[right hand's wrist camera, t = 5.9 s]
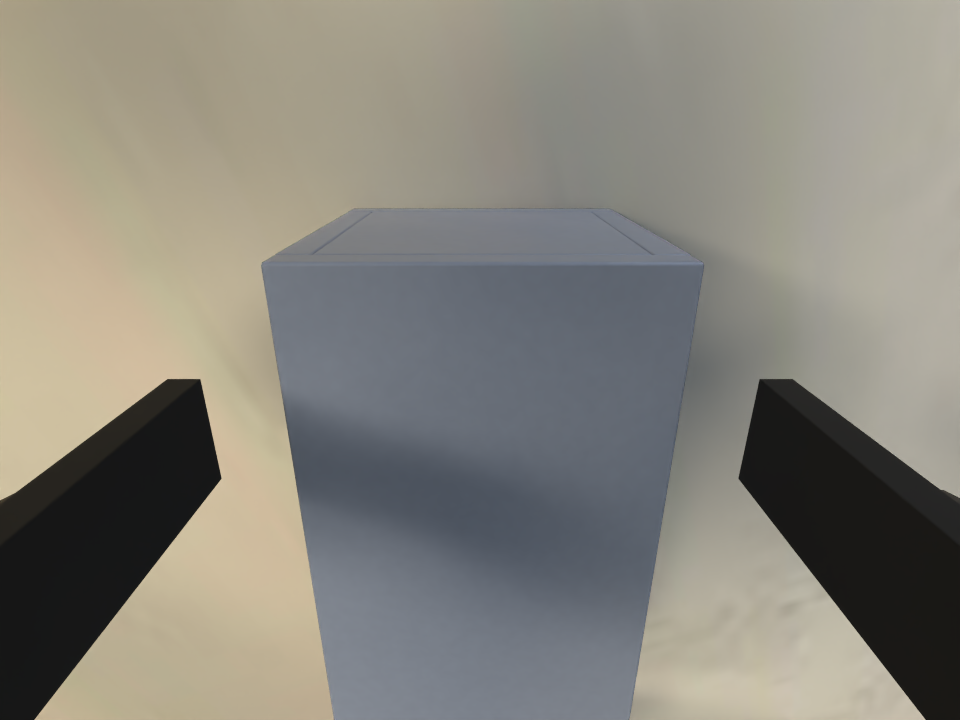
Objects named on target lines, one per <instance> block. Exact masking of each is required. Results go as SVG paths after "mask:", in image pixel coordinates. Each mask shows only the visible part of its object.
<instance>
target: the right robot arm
mask: <svg viewBox="0 0 960 720" xmlns="http://www.w3.org/2000/svg"><path fill="white" fill-rule="evenodd" d="M220 480H221V474H220V469H219V465H218V460H217V455H216V451H215V446H214V441H213V437H212V432H211V427H210V422H209V418H208V413H207V408H206V404H205V399H204V394H203V390H202V385H201V380H200V379H167V380H166V381H165V382H163V383H162V384H161V385H159V386H158V387H157V388H155V389H154V390H153V391H151V392H150V393H149V394H147V395H146V396H145V397H143V398H142V399H140V400H139V401H138V402H136V403H135V404H134V405H132V406H131V407H130V408H128V409H127V410H126V411H124V412H123V413H122V414H120V415H119V416H118V417H116V418H115V419H114V420H112V421H111V422H110V423H108V424H107V425H106V426H104V427H103V428H102V429H100V430H99V431H98V432H96V433H95V434H94V435H92V436H91V437H90V438H88V439H87V440H86V441H84V442H83V443H82V444H80V445H79V446H78V447H76V448H75V449H74V450H72V451H71V452H70V453H68V454H67V455H66V456H64V457H63V458H62V459H60V460H59V461H58V462H56V463H55V464H54V465H52V466H51V467H50V468H48V469H47V470H46V471H44V472H43V473H42V474H40V475H39V476H38V477H36V478H35V479H34V480H32V481H31V482H30V483H28V484H27V485H26V486H24V487H23V488H21V489H20V490H19V491H17V492H16V493H14V494H12V495H10V496H8V497H6V498H4V499H2V500H0V720H34V719H35V718H36V717H37V716H38V714H39V713H40V712H41V710H42V709H43V708H44V706H45V705H46V704H47V703H48V701H49V700H50V699H51V697H52V696H53V695H54V694H55V692H56V691H57V690H58V688H59V687H60V686H61V685H62V683H63V682H64V681H65V679H66V678H67V677H68V676H69V674H70V673H71V672H72V670H73V669H74V668H75V667H76V665H77V664H78V663H79V661H80V660H81V659H82V658H83V656H84V655H85V654H86V652H87V651H88V650H89V649H90V647H91V646H92V645H93V643H94V642H95V641H96V640H97V638H98V637H99V636H100V634H101V633H102V632H103V631H104V629H105V628H106V627H107V625H108V624H109V623H110V621H111V620H112V619H113V618H114V616H115V615H116V614H117V612H118V611H119V610H120V609H121V607H122V606H123V605H124V603H125V602H126V601H127V600H128V598H129V597H130V596H131V594H132V593H133V592H134V591H135V589H136V588H137V587H138V585H139V584H140V583H141V582H142V580H143V579H144V578H145V576H146V575H147V574H148V573H149V571H150V570H151V569H152V567H153V566H154V565H155V564H156V562H157V561H158V560H159V558H160V557H161V556H162V555H163V553H164V552H165V551H166V549H167V548H168V547H169V545H170V544H171V543H172V542H173V540H174V539H175V538H176V536H177V535H178V534H179V533H180V531H181V530H182V529H183V527H184V526H185V525H186V524H187V522H188V521H189V520H190V518H191V517H192V516H193V515H194V513H195V512H196V511H197V509H198V508H199V507H200V506H201V504H202V503H203V502H204V500H205V499H206V498H207V497H208V495H209V494H210V493H211V491H212V490H213V489H214V488H215V486H216V485H217V484H218V482H219V481H220ZM739 480H740V481H741V482H742V484H743V485H744V486H745V488H746V489H747V490H748V491H749V493H750V494H751V495H752V497H753V498H754V499H755V500H756V502H757V503H758V504H759V506H760V507H761V508H762V509H763V511H764V512H765V513H766V515H767V516H768V517H769V518H770V520H771V521H772V522H773V524H774V525H775V526H776V527H777V529H778V530H779V531H780V533H781V534H782V535H783V536H784V538H785V539H786V540H787V542H788V543H789V544H790V546H791V547H792V548H793V549H794V551H795V552H796V553H797V555H798V556H799V557H800V558H801V560H802V561H803V562H804V564H805V565H806V566H807V567H808V569H809V570H810V571H811V573H812V574H813V575H814V576H815V578H816V579H817V580H818V582H819V583H820V584H821V585H822V587H823V588H824V589H825V591H826V592H827V593H828V594H829V596H830V597H831V598H832V600H833V601H834V602H835V603H836V605H837V606H838V607H839V609H840V610H841V611H842V612H843V614H844V615H845V616H846V618H847V619H848V620H849V621H850V623H851V624H852V625H853V627H854V628H855V629H856V631H857V632H858V633H859V634H860V636H861V637H862V638H863V640H864V641H865V642H866V643H867V645H868V646H869V647H870V649H871V650H872V651H873V652H874V654H875V655H876V656H877V658H878V659H879V660H880V661H881V663H882V664H883V665H884V667H885V668H886V669H887V670H888V672H889V673H890V674H891V676H892V677H893V678H894V679H895V681H896V682H897V683H898V685H899V686H900V687H901V688H902V690H903V691H904V692H905V694H906V695H907V696H908V697H909V699H910V700H911V701H912V703H913V704H914V705H915V706H916V708H917V709H918V710H919V712H920V713H921V714H922V716H923V717H924V718H925V719H926V720H960V498H958V497H956V496H954V495H952V494H950V493H948V492H946V491H944V490H940V489H939V488H937V487H936V486H934V485H933V484H932V483H930V482H929V481H928V480H926V479H925V478H924V477H922V476H921V475H920V474H918V473H917V472H916V471H914V470H913V469H912V468H910V467H909V466H908V465H906V464H905V463H904V462H902V461H901V460H900V459H898V458H897V457H896V456H894V455H893V454H892V453H890V452H889V451H888V450H886V449H885V448H884V447H882V446H881V445H880V444H878V443H877V442H876V441H874V440H873V439H872V438H870V437H869V436H868V435H866V434H865V433H864V432H862V431H861V430H860V429H858V428H857V427H856V426H854V425H853V424H852V423H850V422H849V421H848V420H846V419H845V418H844V417H842V416H841V415H840V414H838V413H837V412H836V411H834V410H833V409H832V408H830V407H829V406H828V405H826V404H825V403H824V402H822V401H821V400H820V399H818V398H817V397H815V396H814V395H813V394H811V393H810V392H809V391H807V390H806V389H805V388H803V387H802V386H801V385H799V384H798V383H797V382H795V381H794V380H793V379H760V380H759V385H758V390H757V394H756V399H755V404H754V408H753V413H752V418H751V422H750V427H749V432H748V437H747V441H746V446H745V451H744V455H743V460H742V465H741V469H740V474H739Z"/></svg>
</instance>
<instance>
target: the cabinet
mask: <svg viewBox="0 0 960 720" xmlns="http://www.w3.org/2000/svg"><path fill="white" fill-rule="evenodd" d="M261 267H262V273H263V280H264V286H265V292H266V298H267V305H268V311H269V317H270V323H271V329H272V336H273V342H274V348H275V354H276V361H277V367H278V373H279V379H280V385H281V392H282V398H283V404H284V410H285V416H286V423H287V429H288V435H289V441H290V448H291V454H292V460H293V466H294V472H295V479H296V485H297V491H298V497H299V504H300V510H301V516H302V522H303V528H304V535H305V541H306V547H307V553H308V559H309V566H310V572H311V578H312V584H313V591H314V597H315V603H316V609H317V615H318V622H319V628H320V634H321V640H322V647H323V653H324V659H325V665H326V671H327V678H328V684H329V690H330V696H331V702H332V709H333V715H334V720H629V718H630V712H631V706H632V700H633V694H634V688H635V682H636V676H637V670H638V664H639V658H640V651H641V645H642V639H643V633H644V627H645V621H646V615H647V609H648V603H649V597H650V591H651V585H652V579H653V573H654V566H655V560H656V554H657V548H658V542H659V536H660V530H661V524H662V518H663V512H664V506H665V500H666V494H667V488H668V481H669V475H670V469H671V463H672V457H673V451H674V445H675V439H676V433H677V427H678V421H679V415H680V409H681V403H682V396H683V390H684V384H685V378H686V372H687V366H688V360H689V354H690V348H691V342H692V336H693V330H694V324H695V318H696V311H697V305H698V299H699V293H700V287H701V281H702V275H703V269H704V264H703V262H701V261H699V260H698V259H696V258H694V257H692V256H690V254H689V253H687V252H685V251H683V250H682V249H680V248H678V247H676V246H675V245H673V244H671V243H669V242H668V241H666V240H664V239H662V238H661V237H659V236H657V235H655V234H654V233H652V232H650V231H648V230H647V229H645V228H643V227H641V226H640V225H638V224H636V223H634V222H633V221H631V220H629V219H627V218H626V217H624V216H622V215H620V214H618V213H617V212H615V211H613V210H611V209H352V210H351V211H349V212H348V213H346V214H344V215H342V216H341V217H339V218H337V219H335V220H334V221H332V222H330V223H329V224H327V225H325V226H323V227H322V228H320V229H318V230H316V231H315V232H313V233H311V234H310V235H308V236H306V237H304V238H303V239H301V240H299V241H297V242H296V243H294V244H292V245H291V246H289V247H287V248H285V249H284V250H282V251H280V252H278V253H277V254H275V255H274V256H272V257H271V258H269V259H267V260H265V261H264V262H262V264H261Z"/></svg>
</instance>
